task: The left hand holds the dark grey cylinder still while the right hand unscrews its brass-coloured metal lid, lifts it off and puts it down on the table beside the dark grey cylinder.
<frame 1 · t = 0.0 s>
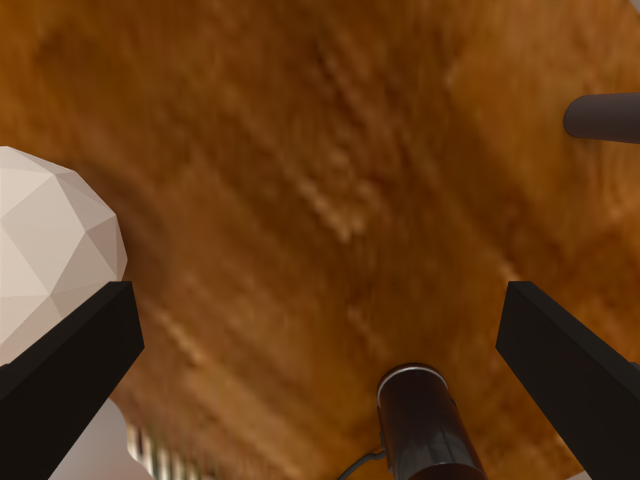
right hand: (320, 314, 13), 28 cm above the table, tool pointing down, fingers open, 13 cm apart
dark grey cylinder: (583, 116, 37), on the table
sphere: (72, 226, 41), on the table
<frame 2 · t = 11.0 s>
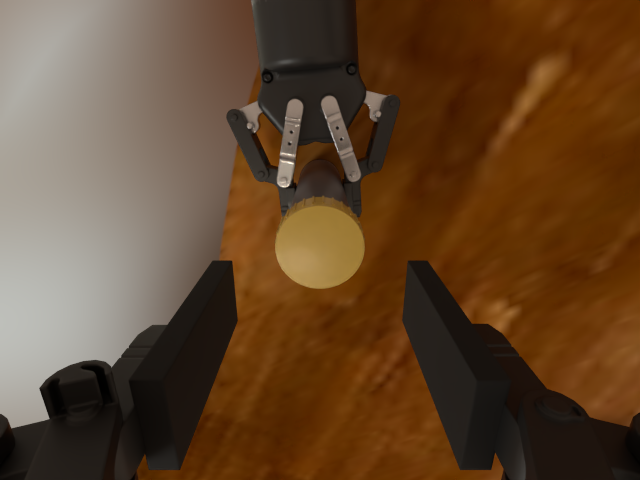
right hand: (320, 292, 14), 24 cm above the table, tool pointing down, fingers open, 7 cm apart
left hand: (322, 223, 32), fingers closed on dark grey cylinder, 4 cm apart
dark grey cylinder: (320, 179, 37), on the table, touching left hand
lid: (319, 246, 19), point 19 cm above the table, screwed on, not yet turned
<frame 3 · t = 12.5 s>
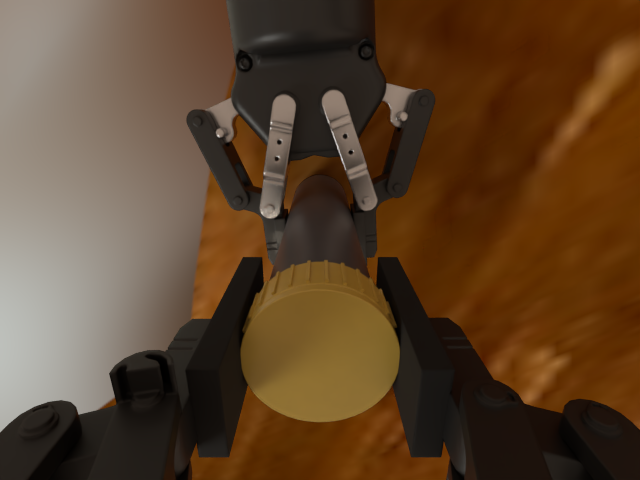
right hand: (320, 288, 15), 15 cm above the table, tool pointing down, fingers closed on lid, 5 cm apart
left hand: (324, 263, 24), fingers closed on dark grey cylinder, 4 cm apart
dark grey cylinder: (320, 200, 28), on the table, touching left hand
lid: (320, 353, 11), point 19 cm above the table, screwed on, not yet turned, touching right hand
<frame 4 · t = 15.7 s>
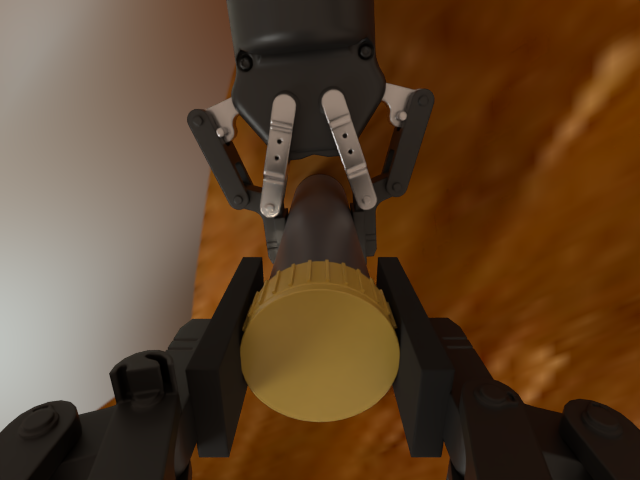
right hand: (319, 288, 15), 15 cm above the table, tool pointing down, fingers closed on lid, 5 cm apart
left hand: (323, 262, 24), fingers closed on dark grey cylinder, 4 cm apart
dark grey cylinder: (320, 200, 29), on the table, touching left hand
lid: (319, 353, 11), point 19 cm above the table, turned 89° so far, risen 0.1 cm, still on its thread, touching right hand
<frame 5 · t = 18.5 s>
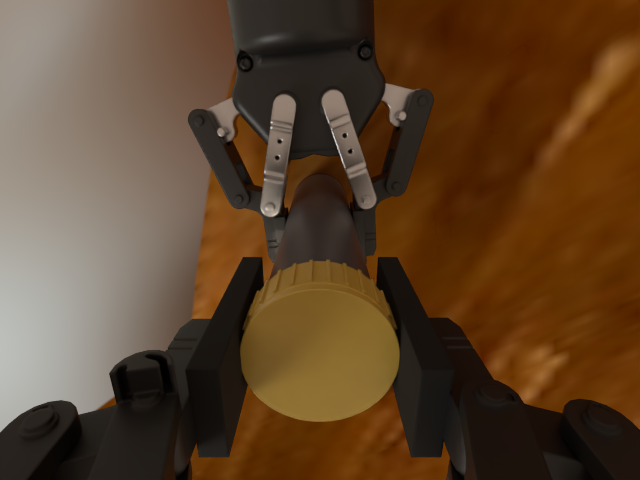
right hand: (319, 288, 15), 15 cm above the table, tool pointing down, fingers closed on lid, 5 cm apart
left hand: (323, 261, 24), fingers closed on dark grey cylinder, 4 cm apart
dark grey cylinder: (320, 199, 29), on the table, touching left hand
lid: (319, 353, 11), point 19 cm above the table, turned 178° so far, risen 0.3 cm, still on its thread, touching right hand
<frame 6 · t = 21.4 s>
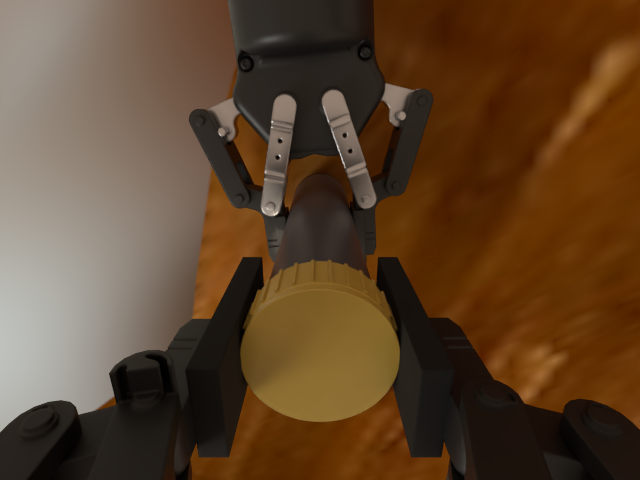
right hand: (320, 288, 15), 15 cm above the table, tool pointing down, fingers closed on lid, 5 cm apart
left hand: (324, 261, 24), fingers closed on dark grey cylinder, 4 cm apart
dark grey cylinder: (320, 199, 29), on the table, touching left hand
lid: (320, 353, 11), point 19 cm above the table, turned 267° so far, risen 0.4 cm, still on its thread, touching right hand
when the right hand's fingers open (0 cm above the table, at t = 33.2 s): lid drops 3 cm, point 2 cm above the table.
when the left hand's fingers open (6 cm above the table, at t = 34.3 s): dark grey cylinder stays where it is, on the table.
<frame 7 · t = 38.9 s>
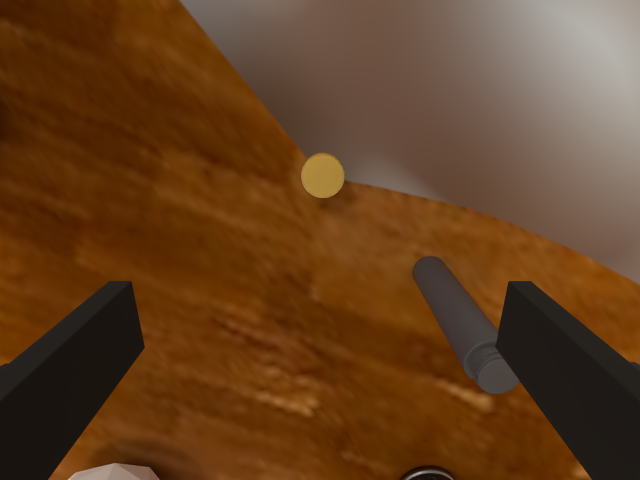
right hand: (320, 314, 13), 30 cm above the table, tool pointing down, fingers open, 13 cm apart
dark grey cylinder: (428, 271, 45), on the table
lid: (322, 176, 39), point 2 cm above the table, off its thread
sphere: (133, 477, 57), on the table
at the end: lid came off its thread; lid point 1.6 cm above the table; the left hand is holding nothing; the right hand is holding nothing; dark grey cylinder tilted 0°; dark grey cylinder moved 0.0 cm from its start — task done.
